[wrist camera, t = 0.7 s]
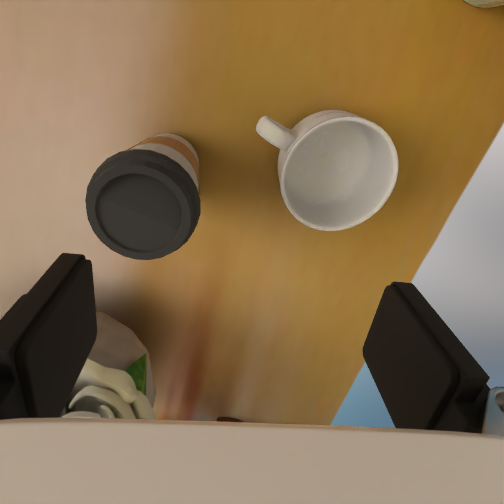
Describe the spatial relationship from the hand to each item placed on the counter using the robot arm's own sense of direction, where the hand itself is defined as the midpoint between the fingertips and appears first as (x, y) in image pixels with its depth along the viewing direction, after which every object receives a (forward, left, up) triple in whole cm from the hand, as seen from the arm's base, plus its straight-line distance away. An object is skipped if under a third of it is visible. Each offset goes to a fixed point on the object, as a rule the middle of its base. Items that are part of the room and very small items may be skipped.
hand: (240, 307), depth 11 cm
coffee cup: (+3, -6, -30) cm, 31 cm away
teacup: (0, +9, -30) cm, 31 cm away
